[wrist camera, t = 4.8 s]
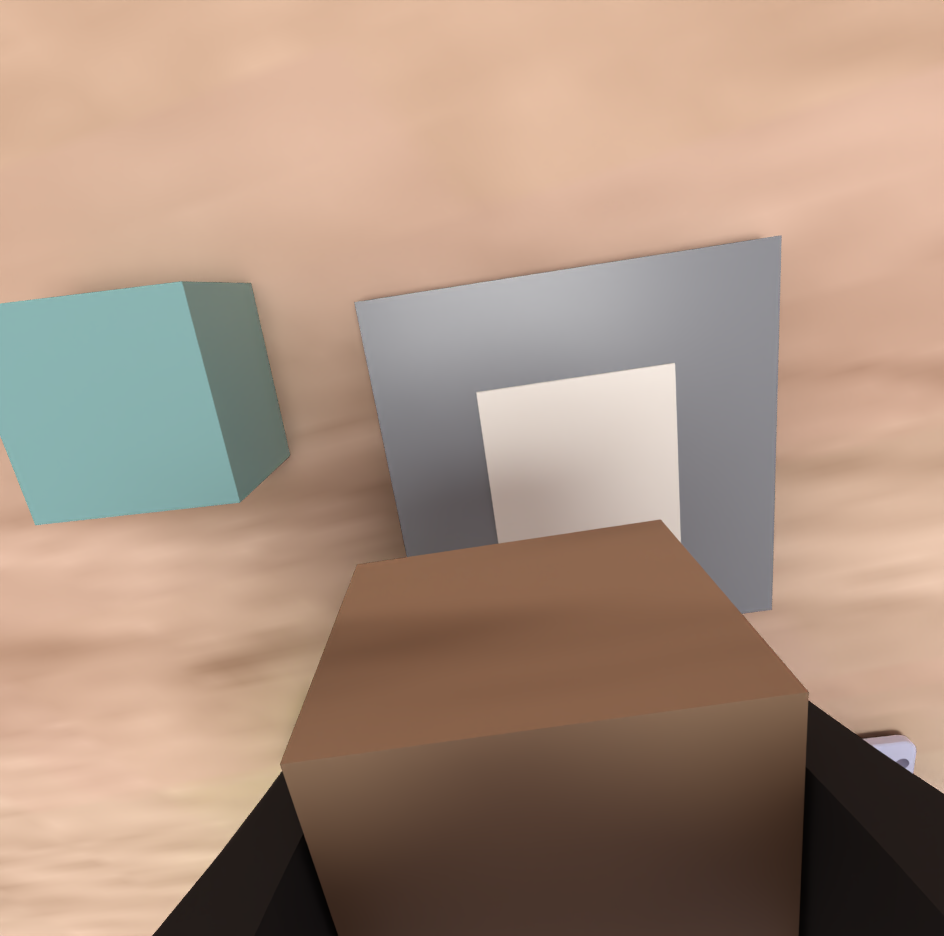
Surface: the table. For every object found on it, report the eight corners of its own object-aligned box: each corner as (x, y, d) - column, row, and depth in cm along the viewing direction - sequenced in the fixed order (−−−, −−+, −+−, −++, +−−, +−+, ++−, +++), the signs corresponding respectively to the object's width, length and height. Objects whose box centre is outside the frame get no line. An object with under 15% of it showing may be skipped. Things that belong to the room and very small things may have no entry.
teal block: (291, 454, 17) (240, 502, 13) (132, 472, 17) (35, 525, 13) (253, 283, 15) (181, 281, 12) (78, 304, 15) (-50, 309, 12)
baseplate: (755, 592, 18) (773, 611, 17) (429, 635, 19) (426, 656, 18) (761, 238, 15) (783, 235, 14) (361, 301, 15) (353, 302, 14)
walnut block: (673, 759, 10) (794, 1029, 7) (413, 794, 11) (386, 1077, 7) (660, 519, 9) (807, 690, 5) (357, 564, 9) (280, 764, 5)
